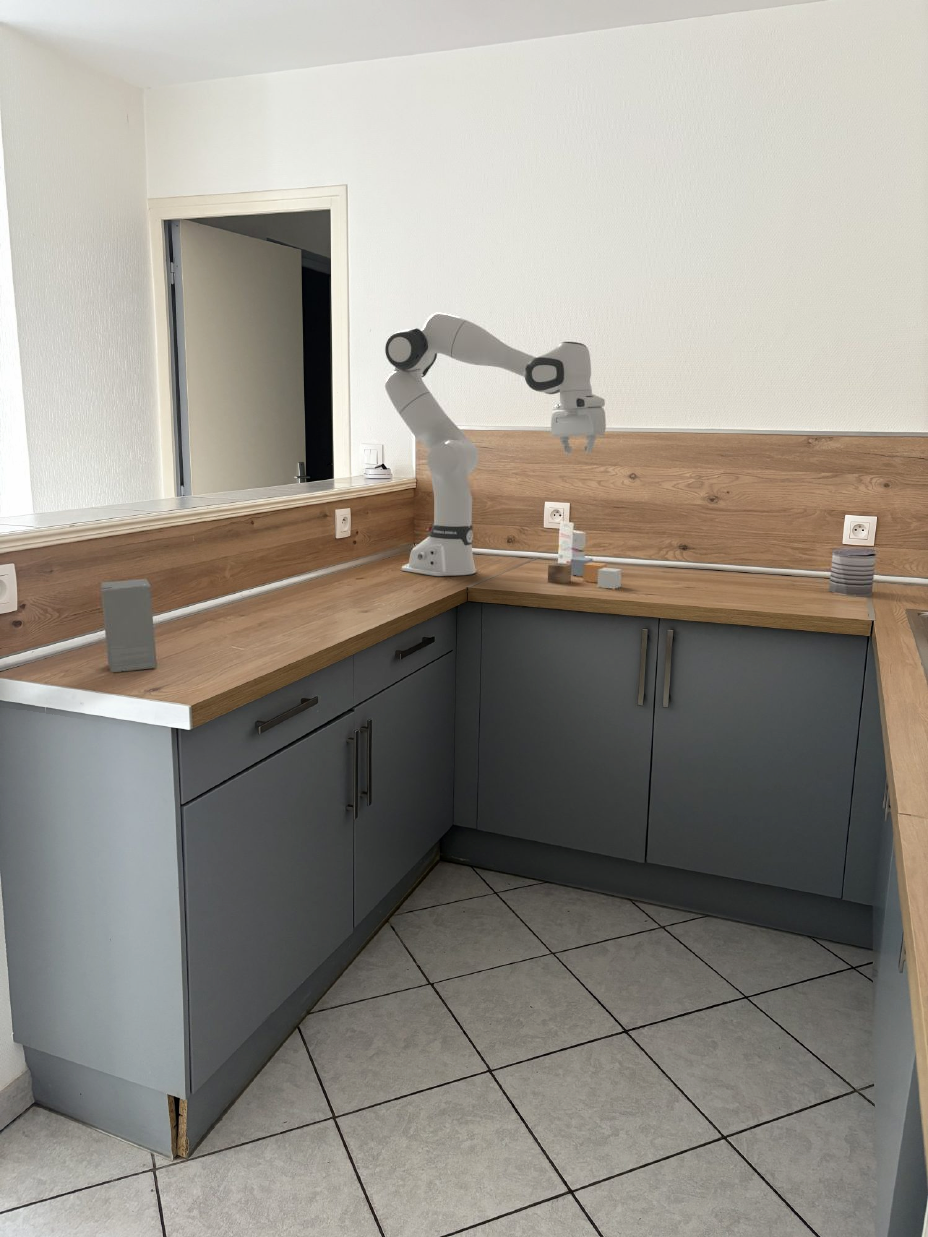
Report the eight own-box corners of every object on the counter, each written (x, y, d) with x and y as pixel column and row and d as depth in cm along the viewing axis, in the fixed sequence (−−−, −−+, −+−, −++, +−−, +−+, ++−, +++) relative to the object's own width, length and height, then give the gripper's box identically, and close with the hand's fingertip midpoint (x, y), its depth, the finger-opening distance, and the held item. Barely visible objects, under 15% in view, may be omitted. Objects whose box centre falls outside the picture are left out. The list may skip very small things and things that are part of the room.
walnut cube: (547, 582, 267) (548, 564, 266) (554, 579, 271) (555, 562, 270) (563, 584, 264) (564, 566, 263) (570, 581, 269) (571, 564, 268)
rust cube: (583, 581, 269) (583, 564, 268) (589, 579, 273) (590, 562, 272) (599, 583, 267) (600, 565, 266) (605, 580, 271) (606, 563, 270)
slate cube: (569, 575, 278) (570, 559, 277) (576, 573, 283) (577, 557, 281) (585, 577, 276) (586, 560, 275) (591, 575, 280) (592, 558, 279)
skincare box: (153, 660, 176) (149, 577, 172) (157, 670, 169) (153, 584, 166) (105, 664, 172) (100, 579, 169) (107, 674, 166) (102, 586, 163)
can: (876, 597, 253) (881, 553, 250) (832, 595, 255) (836, 551, 253) (867, 590, 264) (872, 547, 261) (825, 587, 266) (829, 545, 263)
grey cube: (597, 587, 260) (598, 569, 259) (603, 585, 264) (604, 567, 263) (614, 589, 257) (615, 571, 256) (620, 587, 262) (621, 569, 261)
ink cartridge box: (585, 570, 287) (587, 522, 284) (571, 571, 285) (573, 523, 282) (570, 566, 295) (572, 519, 292) (556, 567, 293) (558, 520, 290)
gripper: (544, 404, 266) (546, 454, 269) (590, 400, 249) (592, 452, 252) (562, 403, 269) (564, 452, 272) (608, 399, 252) (610, 451, 255)
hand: (578, 452), depth 262 cm, fingers open, 8 cm apart
